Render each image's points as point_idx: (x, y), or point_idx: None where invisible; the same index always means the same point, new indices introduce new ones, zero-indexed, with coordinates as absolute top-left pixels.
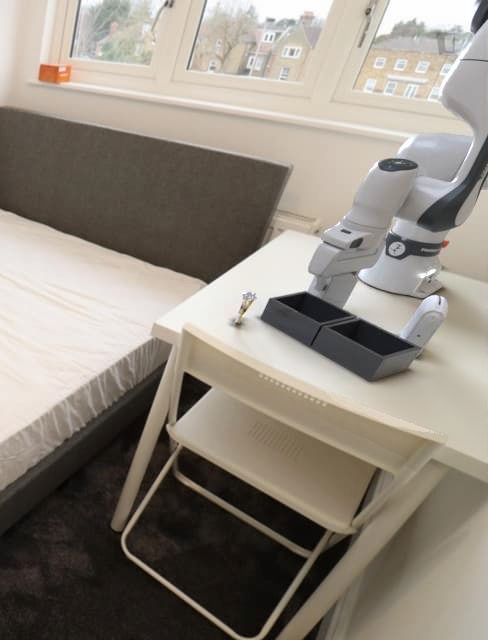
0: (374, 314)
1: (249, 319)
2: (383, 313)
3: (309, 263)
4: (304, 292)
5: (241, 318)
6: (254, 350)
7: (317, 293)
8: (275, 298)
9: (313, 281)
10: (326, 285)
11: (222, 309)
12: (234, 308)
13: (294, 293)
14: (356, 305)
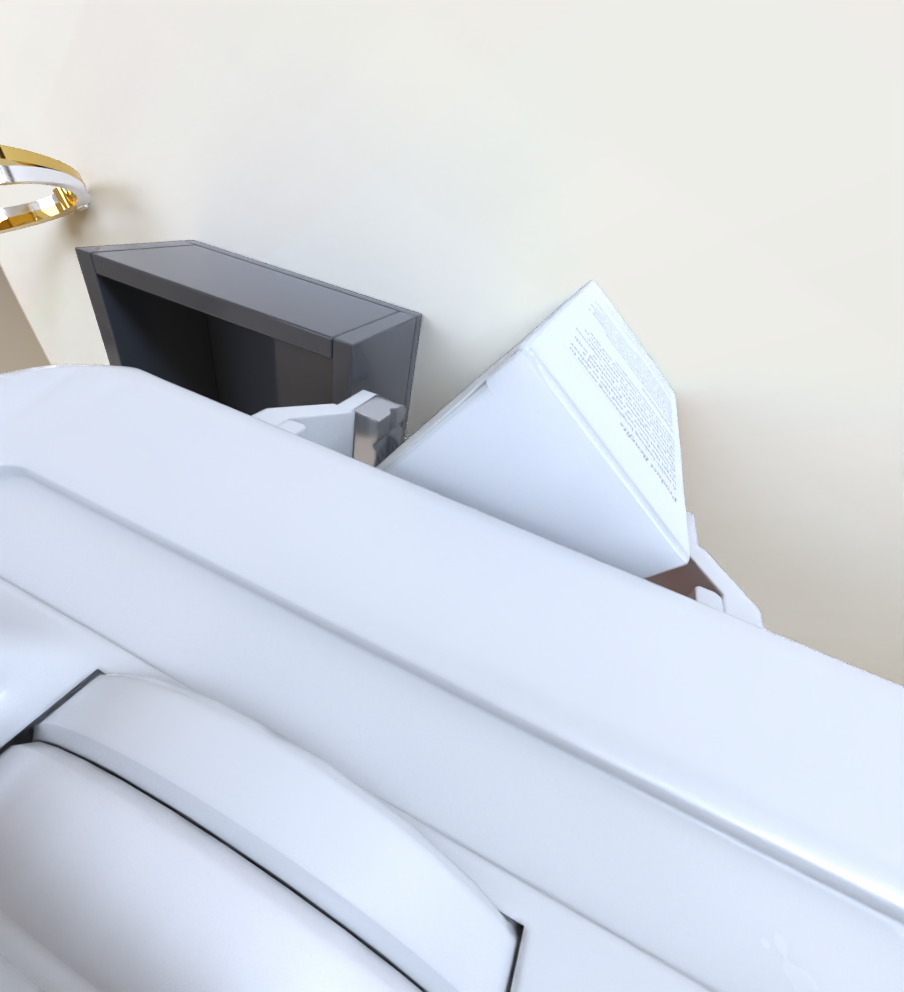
0: (762, 604)
1: (144, 213)
2: (825, 637)
3: (13, 371)
4: (323, 350)
5: (74, 201)
6: (62, 355)
7: (458, 395)
8: (103, 273)
9: (541, 323)
10: (372, 464)
11: (64, 36)
12: (131, 68)
13: (252, 313)
14: (846, 532)
